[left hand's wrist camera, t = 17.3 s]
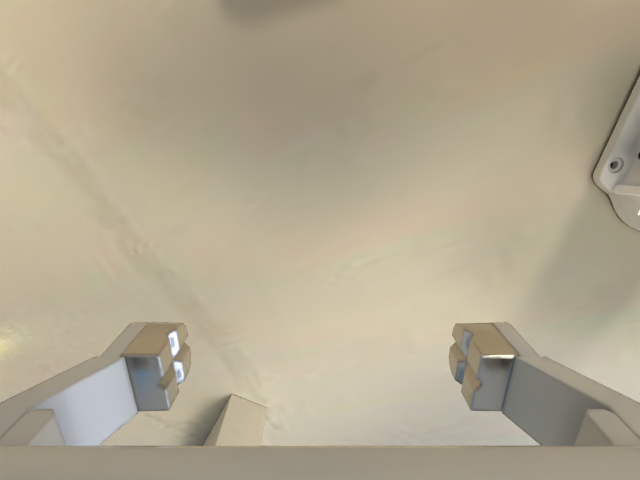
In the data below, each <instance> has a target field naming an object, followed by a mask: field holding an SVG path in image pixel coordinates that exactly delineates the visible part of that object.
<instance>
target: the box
mask: <svg viewBox="0 0 640 480" xmlns="http://www.w3.org/2000/svg"><path fill="white" fill-rule="evenodd" d="M266 414H267V408H266V407H263V406H261V405H258V404H255V403H253V402H250V401H248V400H245V399H243V398H240V397H238V396H235V395H231V396H230V398H229V400H228V402H227V403H226V405H225V407H224V409H223V411H222V412H221V414H220V416H219V418H218V420H217V421H216V423H215V425H214V427H213V429H212V430H211V432H210V434H209V436H208V437H207V439H206V441H205V443H204V445H203V446H261V441H262V436H263V430H264V425H265V419H266Z"/></svg>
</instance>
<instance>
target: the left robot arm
mask: <svg viewBox="0 0 640 480" xmlns="http://www.w3.org/2000/svg"><path fill="white" fill-rule="evenodd" d="M612 162H613V165H612V166H611V167H610V165H611V163H612ZM593 180H594V182H595V184H596V185H597V186H598V187H599V188H601V189H602V190H603V191H604V192H606V193H607V194H608V195H609V197H610V199H611V202H612V204H613V207H614V209H615V211H616V213H617V215H618V216H619V218H620V219H621V220H622V221H623V222H624V223H625V224H627V225H628V226H630V227H631V228H633V229H635V230H638V231H640V76H639V78H638V80H637V82H636V84H635V86H634V88H633V90H632V92H631V95H630V97H629V99H628V101H627V103H626V105H625V107H624V109H623V111H622V114H621V116H620V118H619V120H618V122H617V124H616V126H615V128H614V130H613V133H612V135H611V137H610V139H609V141H608V143H607V145H606V147H605V149H604V152H603V154H602V156H601V158H600V160H599V162H598V164H597V166H596V168H595V171H594V173H593ZM187 336H188V334H187V329H186V325H185V324H183V323H157V322H151V323H149V322H134V323H131V324H129V325H128V326H127V328H126V329H125V330H124V331H123V332H122V333H121V334H120V335H119V336H118V337H117V338H116V340H115V341H114V342H113V343H112V344H111V345H110V346H109V347H108V348H107V349H106V350H105V352H104V353H103V354H102V355H101V356H100V357H93V358H91V359H89V360H87V361H85V362H83V363H81V364H79V365H77V366H75V367H72V368H70V369H68V370H66V371H64V372H62V373H60V374H58V375H56V376H54V377H52V378H50V379H48V380H46V381H44V382H42V383H40V384H38V385H36V386H34V387H32V388H30V389H28V390H26V391H24V392H22V393H20V394H17V395H15V396H13V397H11V398H9V399H7V400H5V401H3V402H1V403H0V480H640V403H639V402H637V401H635V400H632V399H630V398H628V397H626V396H624V395H622V394H620V393H618V392H616V391H614V390H612V389H610V388H608V387H606V386H604V385H602V384H600V383H598V382H596V381H594V380H592V379H590V378H588V377H586V376H584V375H582V374H580V373H578V372H576V371H574V370H572V369H569V368H567V367H565V366H563V365H561V364H559V363H557V362H555V361H553V360H551V359H549V358H547V357H540V356H539V355H538V354H537V353H536V352H535V350H534V349H533V348H532V347H531V346H530V345H529V344H528V343H527V342H526V341H525V340H524V338H523V337H522V336H521V335H520V334H519V333H518V332H517V331H516V330H515V329H514V328H513V326H512V325H511V324H509V323H507V322H493V323H457V324H455V326H454V328H453V333H452V336H453V337H454V339H455V341H456V342H455V343H454V344H453V345H452V346H451V347H450V353H449V362H450V368H451V372H452V374H453V377H454V379H455V380H456V381H457V382H459V383H460V384H462V390H461V392H462V394H463V396H464V398H465V400H466V402H467V404H468V406H469V408H470V410H474V411H502V413H503V414H504V415H505V416H506V417H508V418H509V419H510V420H511V421H512V422H514V423H515V424H516V425H517V426H518V427H520V428H521V429H522V430H523V431H524V432H526V433H527V434H528V435H529V436H530V437H532V438H533V439H534V440H535V441H536V442H538V443H539V444H540V445H541V446H99V445H100V444H101V443H102V442H104V441H105V440H106V439H107V438H108V437H110V436H111V435H112V434H113V433H115V432H116V431H117V430H118V429H119V428H121V427H122V426H123V425H124V424H125V423H127V422H128V421H129V420H130V419H131V418H133V417H134V416H135V415H136V414H137V413H138V411H165V410H170V408H171V406H172V404H173V402H174V400H175V398H176V396H177V394H178V392H179V390H178V384H180V383H181V382H183V381H184V380H185V379H186V376H187V374H188V372H189V368H190V363H191V352H190V347H189V346H188V345H187V344H186V343H185V342H184V341H185V339H186V337H187Z"/></svg>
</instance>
